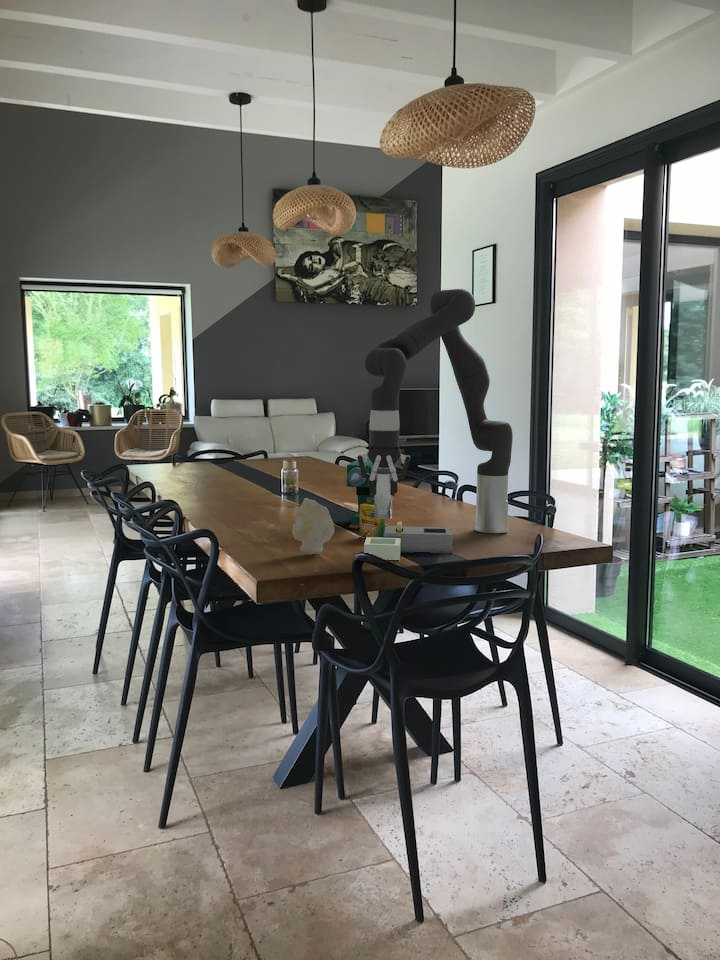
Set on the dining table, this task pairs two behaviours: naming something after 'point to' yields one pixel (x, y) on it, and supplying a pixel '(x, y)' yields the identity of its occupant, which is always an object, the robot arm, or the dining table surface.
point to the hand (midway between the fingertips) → (383, 494)
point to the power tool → (359, 486)
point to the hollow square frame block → (383, 547)
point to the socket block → (422, 538)
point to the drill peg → (383, 493)
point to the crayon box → (370, 521)
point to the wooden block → (399, 526)
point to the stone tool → (312, 526)
